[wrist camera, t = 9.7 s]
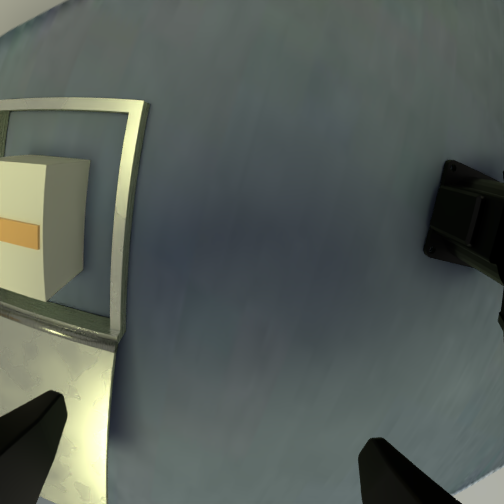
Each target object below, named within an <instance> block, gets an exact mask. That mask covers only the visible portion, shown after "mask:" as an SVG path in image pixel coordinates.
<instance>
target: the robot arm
mask: <svg viewBox="0 0 504 504" xmlns="http://www.w3.org/2000/svg"><path fill="white" fill-rule="evenodd" d="M451 165H452V166H453V170H452V171H451ZM503 178H504V171H503ZM431 247H433V249H432V251H431V252H429V251H430V248H431ZM424 253H425V255H427V256H428V257H430V258H435V259H439V260H443V261H447V262H452V263H456V264H460V265H464V266H468V267H472V268H475V269H477V270H479V271H480V272H482V273H484V274H485V275H487V276H489V277H490V278H492V279H493V280H495V281H496V282H498V283H500V284H501V285H503V286H504V183H501V182H499V181H497V180H495V179H493V178H491V177H489V176H487V175H485V174H483V173H481V172H479V171H477V170H474V169H472V168H470V167H468V166H466V165H464V164H462V163H459V162H457V161H455V160H447V161H446V162H445V165H444V170H443V175H442V179H441V184H440V188H439V190H438V194H437V199H436V203H435V207H434V211H433V214H432V218H431V222H430V228H429V231H428V235H427V238H426V242H425V245H424ZM498 322H499V324H500V326H501V328H502V330H503V335H504V290H503V299H502V307H501V312H499V317H498ZM67 417H68V412H67V408H66V404H65V399H64V396H63V394H61V393H59V392H56V391H54V390H48V391H46V392H45V393H43V394H41V395H39V396H37V397H36V398H34V399H32V400H30V401H28V402H27V403H25V404H23V405H21V406H19V407H17V408H16V409H14V410H12V411H10V412H8V413H6V414H5V415H3V416H1V417H0V504H36V502H37V500H38V498H39V495H40V493H41V490H42V488H43V485H44V483H45V481H46V478H47V476H48V473H49V471H50V469H51V466H52V464H53V462H54V459H55V456H56V453H57V450H58V446H59V443H60V440H61V437H62V433H63V430H64V427H65V424H66V421H67ZM358 464H359V474H360V484H361V495H362V502H363V504H462V503H460V502H459V501H458V500H456V499H455V498H454V497H453V496H452V495H450V494H449V493H448V492H447V491H445V490H444V489H443V488H442V487H440V486H439V485H438V484H437V483H436V482H434V481H433V480H432V479H431V478H430V477H428V476H427V475H426V474H425V473H424V472H422V471H421V470H420V469H419V468H418V467H416V466H415V465H414V464H413V463H412V462H411V461H409V460H408V459H407V458H406V457H405V456H404V455H402V454H401V453H400V452H399V451H398V450H397V449H395V448H394V447H393V446H392V445H391V444H390V443H389V442H387V441H386V440H385V439H384V438H381V437H378V438H371V439H369V440H368V441H367V443H366V444H365V446H364V448H363V449H362V450H361V452H360V454H359V457H358Z"/></svg>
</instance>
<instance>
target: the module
mask: <svg viewBox="0 0 504 504" xmlns="http://www.w3.org/2000/svg"><path fill="white" fill-rule="evenodd" d="M89 168H90V160H85V159H75V158H65V157H54V156H42V155H19V156H9V157H0V287H1V288H4V289H7V290H10V291H13V292H16V293H19V294H22V295H25V296H28V297H31V298H34V299H37V300H41V301H44V302H46V301H47V300H49V299H50V298H51V297H52V296H53V295H54V294H55V293H57V292H58V291H59V290H60V289H61V288H62V287H63V286H65V285H66V284H67V283H68V282H69V281H70V280H72V279H73V278H74V277H75V276H76V275H78V274H79V273H80V272H81V271H82V270H83V248H84V224H85V209H86V196H87V186H88V176H89Z"/></svg>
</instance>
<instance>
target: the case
mask: <svg viewBox="0 0 504 504" xmlns="http://www.w3.org/2000/svg"><path fill="white" fill-rule="evenodd" d="M149 107H150V104H149V103H147V102H145V101H140V100H127V99H109V98H71V97H62V98H26V99H9V100H0V157H4V150H5V141H6V133H7V126H8V120H9V114H10V111H89V112H107V113H122V114H129V116H128V122H127V127H126V133H125V138H124V144H123V151H122V157H121V164H120V171H119V178H118V187H117V195H116V204H115V215H114V226H113V240H112V256H111V282H110V318H107V317H103V316H99V315H95V314H91V313H88V312H84V311H80V310H76V309H73V308H69V307H66V306H62V305H59V304H55V303H52V302H48V301H46V302H44V301H41V300H37V299H34V298H31V297H28V296H25V295H22V294H19V293H16V292H13V291H10V290H7V289H4V288H1V287H0V417H1V416H3V415H5V414H6V413H8V412H10V411H12V410H14V409H16V408H17V407H19V406H21V405H23V404H25V403H27V402H28V401H30V400H32V399H34V398H36V397H37V396H39V395H41V394H43V393H45V392H46V391H48V390H54V391H56V392H59V393H61V394H63V396H64V399H65V404H66V408H67V412H68V417H67V421H66V424H65V427H64V430H63V433H62V437H61V440H60V443H59V446H58V450H57V453H56V456H55V459H54V462H53V464H52V466H51V469H50V471H49V473H48V476H47V478H46V481H45V483H44V485H43V488H42V490H41V493H40V495H39V496H41V497H43V498H45V499H47V500H50V501H52V502H55V503H57V504H108V445H109V425H110V410H111V398H112V387H113V377H114V368H115V360H116V352H117V349H118V343H119V342H120V340H121V338H122V337H123V335H124V333H125V331H126V301H127V278H128V261H129V248H130V236H131V225H132V216H133V207H134V198H135V190H136V183H137V176H138V169H139V162H140V156H141V150H142V144H143V138H144V132H145V127H146V122H147V117H148V112H149Z"/></svg>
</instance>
